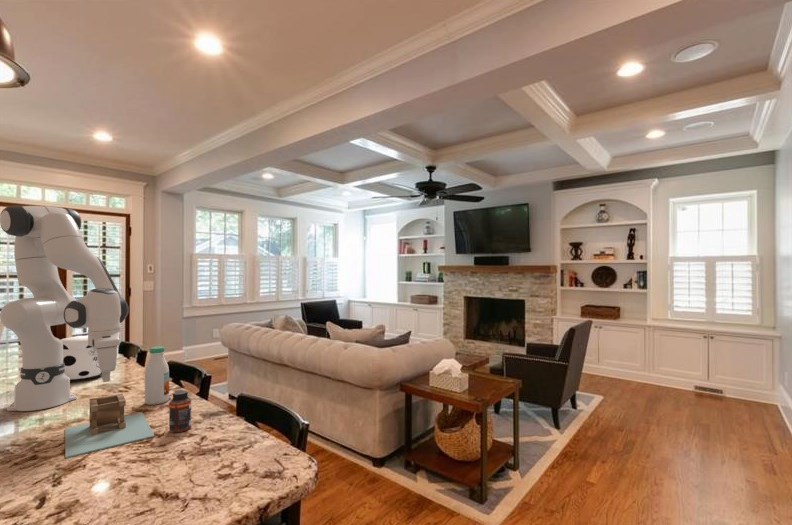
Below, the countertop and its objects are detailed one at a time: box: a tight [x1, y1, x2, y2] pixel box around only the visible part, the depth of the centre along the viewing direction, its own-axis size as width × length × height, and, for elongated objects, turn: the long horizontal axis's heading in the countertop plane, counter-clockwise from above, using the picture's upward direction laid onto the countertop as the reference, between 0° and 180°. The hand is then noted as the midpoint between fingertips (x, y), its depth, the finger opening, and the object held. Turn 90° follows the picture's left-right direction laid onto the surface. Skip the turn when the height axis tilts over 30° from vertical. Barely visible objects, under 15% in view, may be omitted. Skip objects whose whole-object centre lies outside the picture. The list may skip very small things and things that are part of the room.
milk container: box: [60, 334, 102, 382], centre depth 177 cm, size 17×17×18 cm
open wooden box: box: [89, 393, 127, 436], centre depth 122 cm, size 9×8×8 cm
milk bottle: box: [144, 346, 170, 406], centre depth 146 cm, size 8×8×20 cm
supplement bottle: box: [168, 389, 192, 433], centre depth 121 cm, size 6×6×11 cm
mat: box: [64, 412, 156, 459], centre depth 118 cm, size 24×20×1 cm
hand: (106, 380), depth 129 cm, fingers closed
